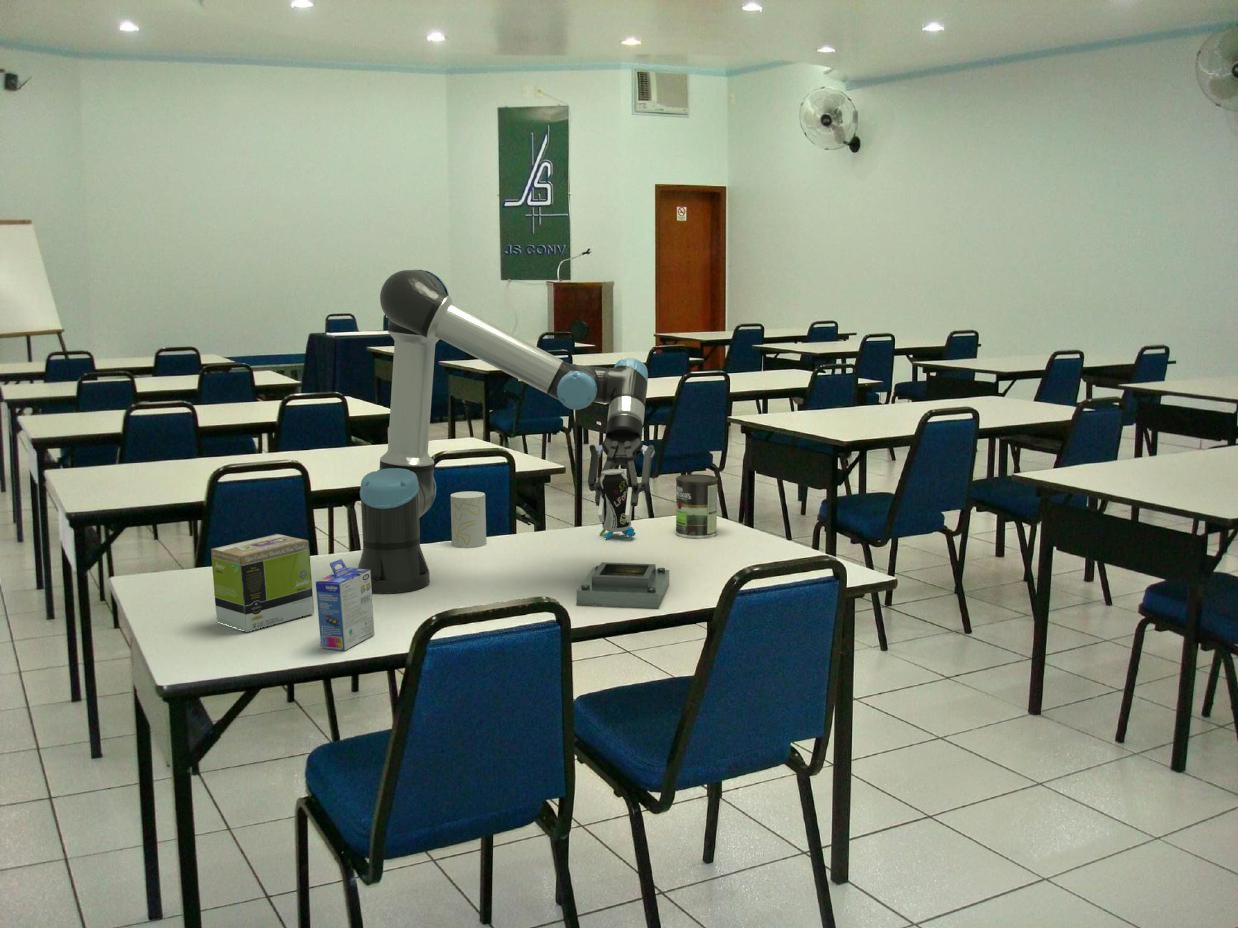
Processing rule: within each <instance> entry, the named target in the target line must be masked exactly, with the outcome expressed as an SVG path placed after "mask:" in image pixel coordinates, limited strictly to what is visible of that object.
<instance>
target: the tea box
mask: <svg viewBox="0 0 1238 928" xmlns="http://www.w3.org/2000/svg"><path fill="white" fill-rule="evenodd" d="M210 555H211V567H212V568H211V570H212V576H213V577H212V579H213V589H214V590H213V591H214V594H213V595H214V602H215V603H214V605H215V613H216V622H217V621H218V622H220V623H223V624H227V625H229V626H232V627H236V628H237V629H241V630H244V631H245V632H244V633H246V632H247V633H249V632H248V631H250V632H252V631H251V630H254V629H258V630H260V628H261V629H263V628H262V627H264V628H268V627H271V626H274V624H275V625H278V624H281V623H285V622H288V621H292V620H296V619H299V618H302V616H303V617H306V616H310V615H313V614H315V606H314V595H313V579H312V578H313V577H312V567H311V554H310V541H309V540H308V539H303V538H299V537H298V538H297V537H294V536H293V537H292V536H289V535H284V534H280V533H275V534H271V535H267V536H263V537H258V538H254V539H250V540H244V541H241V542H235V543H231V544H228V545H223V546H219V547H214V548H210ZM218 622H217V623H218ZM267 626H268V627H267ZM254 631H255V630H254Z"/></svg>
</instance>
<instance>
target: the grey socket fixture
mask: <svg viewBox="0 0 1238 928" xmlns="http://www.w3.org/2000/svg"><path fill="white" fill-rule="evenodd" d="M656 566H657V565H656V563H637V562H636V563H633V562H628V563H627V562H603V561H601V563H600V564H599V565H595V566H594V567H592V568H591V570H590V571H589V573H588V574H587V576H586V577H585V578H584V579H583V581H582V582H581V583H580V584H579V586H578V588H577V589H576V606H585V607H587V606H588V607H605V608H606V607H608V608H632V609H635V608H636V609H655V610H657V609H659V608H660V607H661V604H662V601H663V599H664V597H665V596H666V592H667V590H668V588H669V585H670V569H666V568H664V567H656ZM656 568H657V569H656Z"/></svg>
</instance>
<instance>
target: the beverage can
mask: <svg viewBox="0 0 1238 928" xmlns="http://www.w3.org/2000/svg"><path fill="white" fill-rule="evenodd" d="M600 474H602V475H601V477H600V476H599V477H600V478H599V477H598V479H599V489H600V495H601V496H602V498H603V499H604V522H601V523H602V529H606V531H607V532H613V533H618V532H619V533H620V532H621V533H622V531H625V530H627V529H628V528H629V527H632V521H631V522H627V521H626V516H625V512H626V503H627V493H628V487H629V481H628V480H629V478H628V476H627V475H626V473H625V470H624V469H622V468H613V469H610V470H604V471H602V470H601V472H600Z"/></svg>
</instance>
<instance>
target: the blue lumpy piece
mask: <svg viewBox="0 0 1238 928" xmlns="http://www.w3.org/2000/svg"><path fill="white" fill-rule="evenodd" d="M606 531H607V530H606V529H604V528H602V530H601V531H600V533H599V534H600V535H599V536H601V535H602V536H603V535H604V534H605V532H606ZM621 533H622V534H623V535H625V536H627V535H628V536H629V537H630V536H631V537H630V538H632V537H635V536H636V534H637V533H636V532H635V529H634V528H633V527H632V526H630V527H629V528H628V529H627V530H625V531H621ZM613 534H614V532H609V531H607V534H605V536H604V539H605V538H606V539H605V540H607V539H608V540H609V539H610V538H611V537H612V535H613Z"/></svg>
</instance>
